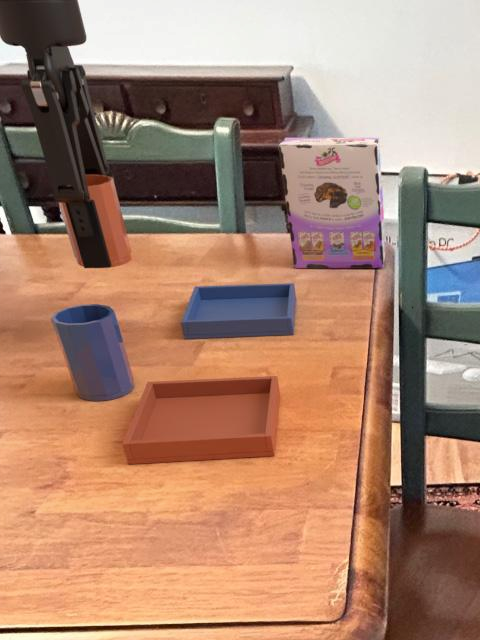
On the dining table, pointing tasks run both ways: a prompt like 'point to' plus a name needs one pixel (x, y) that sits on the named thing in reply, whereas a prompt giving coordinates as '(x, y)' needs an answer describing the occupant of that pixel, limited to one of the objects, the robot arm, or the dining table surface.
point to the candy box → (334, 201)
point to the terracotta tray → (204, 420)
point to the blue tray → (240, 311)
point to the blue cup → (94, 351)
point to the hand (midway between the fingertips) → (104, 257)
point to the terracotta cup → (104, 220)
